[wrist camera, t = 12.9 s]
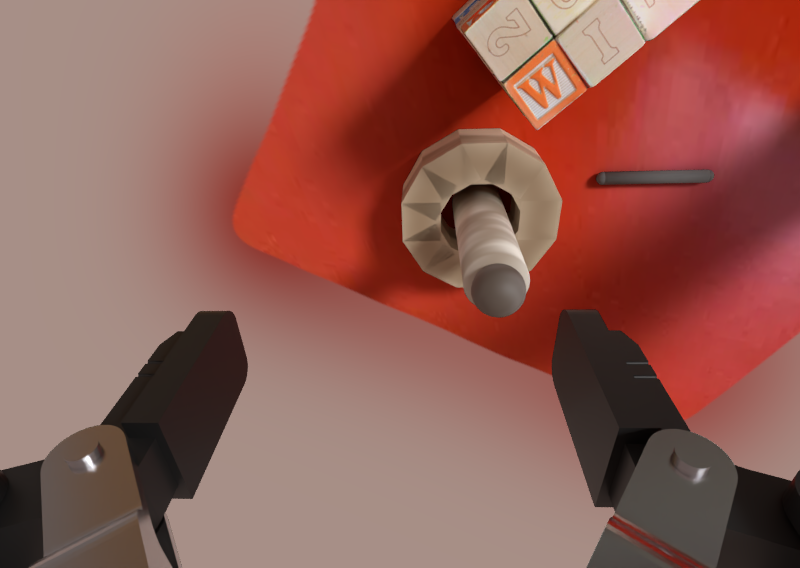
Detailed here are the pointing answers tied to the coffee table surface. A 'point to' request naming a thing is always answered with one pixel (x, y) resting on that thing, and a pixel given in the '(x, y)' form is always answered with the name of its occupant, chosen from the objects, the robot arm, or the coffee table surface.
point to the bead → (477, 164)
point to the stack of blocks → (559, 44)
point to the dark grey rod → (655, 177)
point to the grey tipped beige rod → (489, 252)
